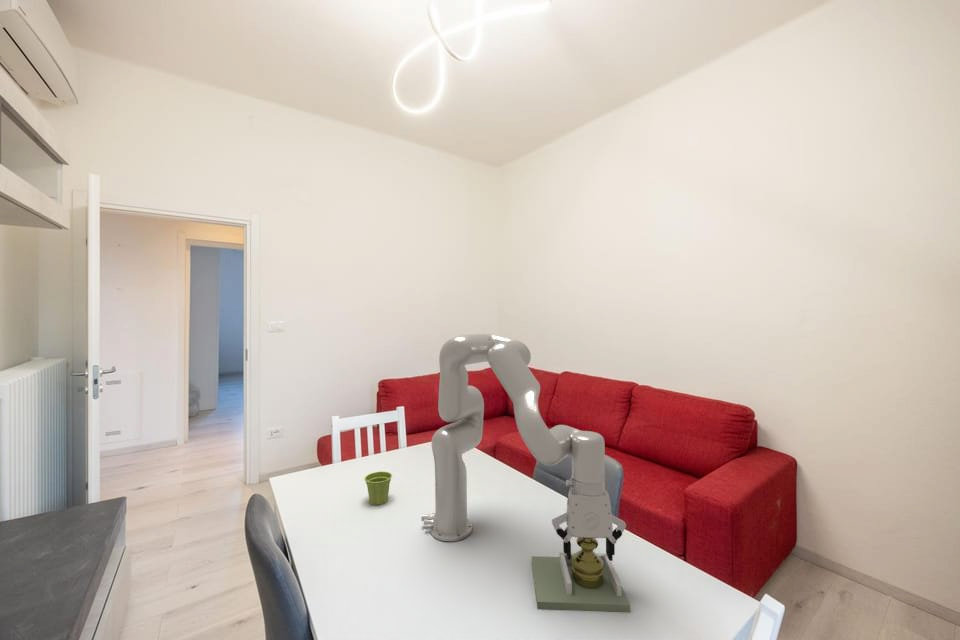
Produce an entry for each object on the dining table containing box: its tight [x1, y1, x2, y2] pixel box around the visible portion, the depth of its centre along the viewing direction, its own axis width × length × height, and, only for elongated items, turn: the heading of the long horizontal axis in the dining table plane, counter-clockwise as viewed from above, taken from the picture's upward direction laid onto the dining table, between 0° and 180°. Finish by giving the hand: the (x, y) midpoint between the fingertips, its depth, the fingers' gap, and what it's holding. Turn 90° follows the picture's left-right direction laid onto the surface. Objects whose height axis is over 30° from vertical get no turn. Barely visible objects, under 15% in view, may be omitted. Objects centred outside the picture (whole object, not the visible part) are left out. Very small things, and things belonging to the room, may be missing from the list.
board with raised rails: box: [531, 551, 631, 613], centre depth 91 cm, size 20×16×4 cm
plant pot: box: [364, 471, 393, 506], centre depth 134 cm, size 9×9×9 cm
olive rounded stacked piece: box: [571, 537, 604, 588], centre depth 91 cm, size 7×7×10 cm
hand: (588, 556), depth 91 cm, fingers open, 9 cm apart
